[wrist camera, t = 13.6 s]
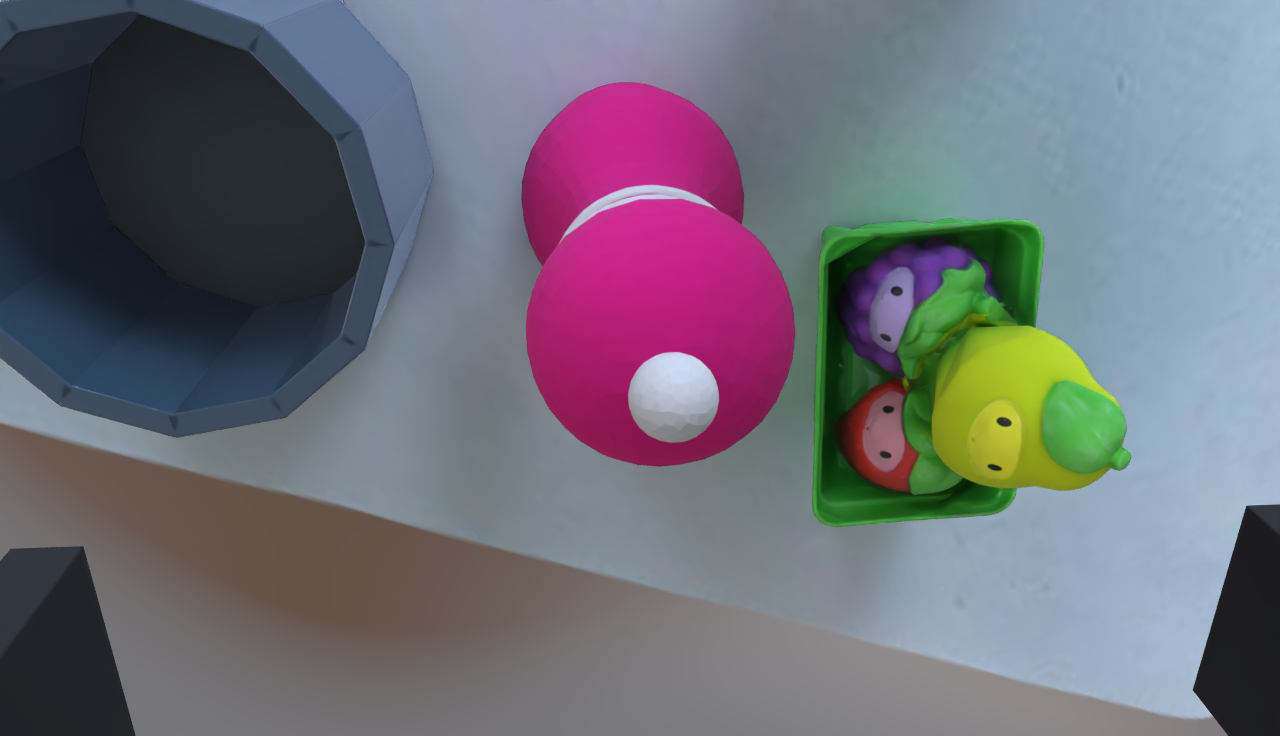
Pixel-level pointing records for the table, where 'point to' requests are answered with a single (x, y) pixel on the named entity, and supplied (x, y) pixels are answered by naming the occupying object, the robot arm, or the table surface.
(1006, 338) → the fruit basket
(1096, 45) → the table surface
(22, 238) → the crock
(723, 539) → the table surface
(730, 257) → the pepper mill
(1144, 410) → the table surface
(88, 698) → the robot arm
